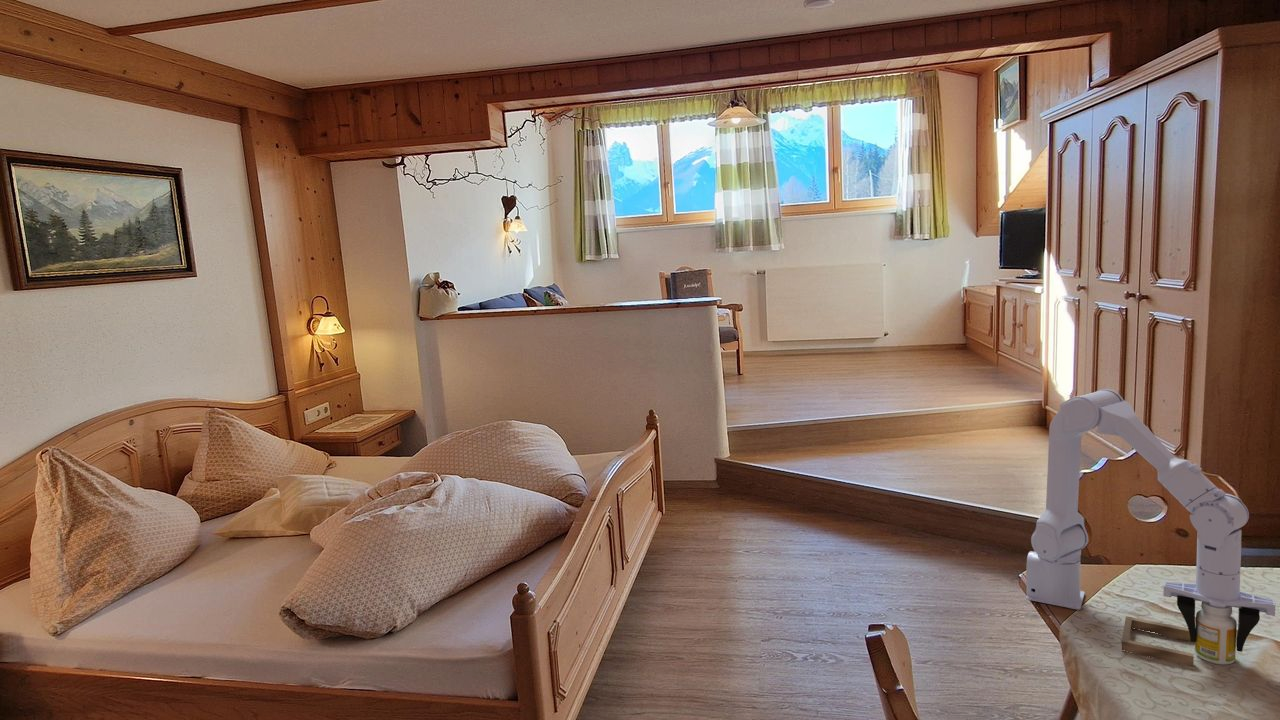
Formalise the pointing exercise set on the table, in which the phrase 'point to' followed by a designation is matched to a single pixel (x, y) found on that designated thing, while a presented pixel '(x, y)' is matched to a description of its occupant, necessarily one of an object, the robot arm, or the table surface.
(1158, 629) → the wooden frame
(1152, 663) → the table surface
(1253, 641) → the table surface
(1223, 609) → the supplement bottle
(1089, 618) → the table surface
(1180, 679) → the table surface
